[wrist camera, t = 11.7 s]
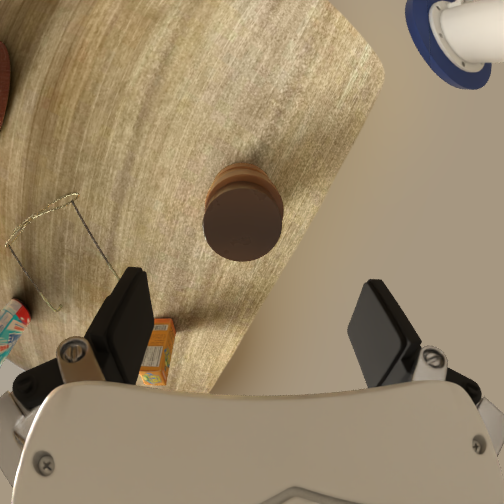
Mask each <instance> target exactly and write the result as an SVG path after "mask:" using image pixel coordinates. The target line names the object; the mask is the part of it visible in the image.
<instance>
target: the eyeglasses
mask: <svg viewBox="0 0 504 504" xmlns="http://www.w3.org/2000/svg"><path fill="white" fill-rule="evenodd" d="M74 194H77V195H78V196H77V197H76V198H74V199H73V200H71V201H70V202H68V203H67V204H65V205H62V206H60V207H57V208H54V209H51V210H48V211H45V212H43V213H41V212H42V211H43V210H45V209H46V208H47V207H49V206H50V205H51V204H53V203H54V202H56V201H58V200H60V199H62V198H64V197H67V196H70V195H74ZM78 197H79V193H72V194H68V195H66V196H63V197H61V198H59V199H57V200H55V201H54V202H52V203H50V204H49V205H48V206H46V207H45V208H44V209H42V210H41V211H40V212H39V213H37V214H34V215H35V216H34V215H33V214H32V215H31V216H29V217H28V218H27V219H26V220H25V221H24V222H23V223H25V224H23V223H22V224H23V225H22V224H21V225H22V226H21V225H19V226H21V227H20V228H19V229H18V230H20V229H21V228H22V227H23V226H24V225H25V226H26V225H27V223H28V222H29V223H30V220H31V219H32V218H33V219H34V218H36V217H39V216H40V215H42V214H45V213H47V212H50V211H53V210H56V209H59V208H62V207H64V206H66V205H68V204H70V203H72V204H73V206H74V208H75V209H76V211H77V213H78V215H79V217H80V219H81V220H82V222H83V224H84V226H85V227H86V229H87V231H88V233H89V234H90V236H91V238H92V239H93V241H94V243H95V244H96V246H97V248H98V249H99V251H100V252H101V254H102V256H103V257H104V259H105V260H106V262H107V263H108V266H109V267H110V269H111V270H112V272H113V273H114V275H115V276H116V278H117V279H118V281H119V280H120V278H119V276H118V275H117V273H116V272H115V270H114V269H113V267H112V266H111V264H110V263H109V262H108V260H107V258H106V257H105V255H104V254H103V252H102V250H101V249H100V247H99V246H98V244H97V242H96V241H95V239H94V237H93V236H92V234H91V232H90V230H89V229H88V227H87V225H86V223H85V222H84V220H83V218H82V216H81V214H80V213H79V211H78V209H77V207H76V205H75V203H74V200H76V199H77V198H78ZM40 213H41V214H40ZM28 219H29V220H28ZM27 220H28V221H27ZM26 221H27V222H26ZM29 223H28V224H29ZM19 226H18V227H19ZM25 226H24V227H25ZM18 227H17V228H18ZM24 227H23V228H22V230H23V229H24ZM17 228H16V229H17ZM16 229H14V230H16ZM18 230H16V231H15V232H14V233H13V234H12V236H13V235H14V234H15V233H16V232H17V231H18ZM22 230H21V231H20V233H21V232H22ZM20 233H19V234H18V235H17V237H18V236H19V235H20ZM12 236H11V237H12ZM11 237H10V238H9V239H8V241H9V240H10V239H11ZM17 237H16V238H17ZM16 238H15V239H16ZM15 239H14V240H13V241H12V242H11V243H10V244H12V243H13V242H14V241H15ZM8 241H7V242H6V244H5V247H6V248H7V247H9V248H10V250H11V252H12V253H13V255H14V256H15V258H16V260H17V261H18V263H19V264H20V266H21V267H22V269H23V270H24V272H25V273H26V275H27V276H28V278H29V279H30V281H31V282H32V283H33V285H34V286H35V288H36V289H37V290H38V292H39V293H40V295H41V296H42V297H43V299H44V300H45V301H46V303H47V304H48V305H49V306H50V308H51V309H52V310H53V311H55V312H58V311H60V309H61V308H62V305H61V304H60V305H59V308H58V309H57V310H55V309H54V308H53V307H52V306H51V304H50V303H49V302H48V300H47V299H46V298H45V297H44V295H43V294H42V293H41V291H40V290H39V289H38V287H37V286H36V285H35V283H34V282H33V280H32V279H31V278H30V276H29V275H28V273H27V272H26V270H25V269H24V267H23V266H22V264H21V263H20V261H19V260H18V258H17V256H16V255H15V253H14V252H13V250H12V248H11V247H10V244H8V245H7V243H8ZM6 245H7V246H6Z"/></svg>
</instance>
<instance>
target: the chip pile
mask: <svg viewBox="0 0 504 504" xmlns="http://www.w3.org/2000/svg"><path fill="white" fill-rule="evenodd" d="M237 181H248V182H252V183H256V184H258V185H260V186H262V187H263V188H265V189H266V190H267V191H268V192H269V193H270V194H271V195H272V197H273V198H274V200H275V202H276V205H277V207H278V209H279V212H280V215H281V219H282V220H283V213H284V209H283V202H282V199H281V196H280V195H279V193H278V191H277V189H276V187H275V185H274V184H273V183H272V181H271V180H270V179H269V177H268V176H267V174H266V173H265V172H264V171H263V170H262V169H261V168H259V167H257V166H256V165H253V164H250V163H235V164H231V165H229V166H227V167H225V168H224V169H222V170H221V171H220V172H219V173H218V174H217V176H216V177H215V179H214V181H213V183H212V185H211V187H210V189H209V191H208V194H207V196H206V200H205V211H206V208H207V205H208V203H209V200H210V199H211V197H212V196H213V194H214V193H215V192H216V191H217V190H218V189H220V188H221V187H223V186H224V185H226V184H229V183H232V182H237Z"/></svg>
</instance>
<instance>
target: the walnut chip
mask: <svg viewBox="0 0 504 504" xmlns="http://www.w3.org/2000/svg"><path fill="white" fill-rule="evenodd" d="M281 230H282V219H281V215H280V212H279V209H278V207H277V205H276V202H275V200H274V198H273V197H272V195H271V194H270V193H269V192H268V191H267V190H266V189H265V188H263V187H262V186H260V185H258V184H256V183H252V182H248V181H237V182H232V183H229V184H226V185H224V186H223V187H221V188H220V189H218V190H217V191H216V192H215V193H214V194H213V196H212V197H211V199H210V200H209V203H208V205H207V208H206V211H205V214H204V217H203V233H204V236H205V239H206V241H207V243H208V244H209V246H210V247H211V248H212V249H213V250H214V251H215V252H216V253H217V254H219V255H220V256H222V257H224V258H226V259H229V260H233V261H239V262H245V261H251V260H255V259H258V258H260V257H262V256H264V255H265V254H267V253H268V252H269V251H270V250H271V249H272V248H273V247H274V246H275V245H276V243H277V241H278V240H279V237H280V234H281Z"/></svg>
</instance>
